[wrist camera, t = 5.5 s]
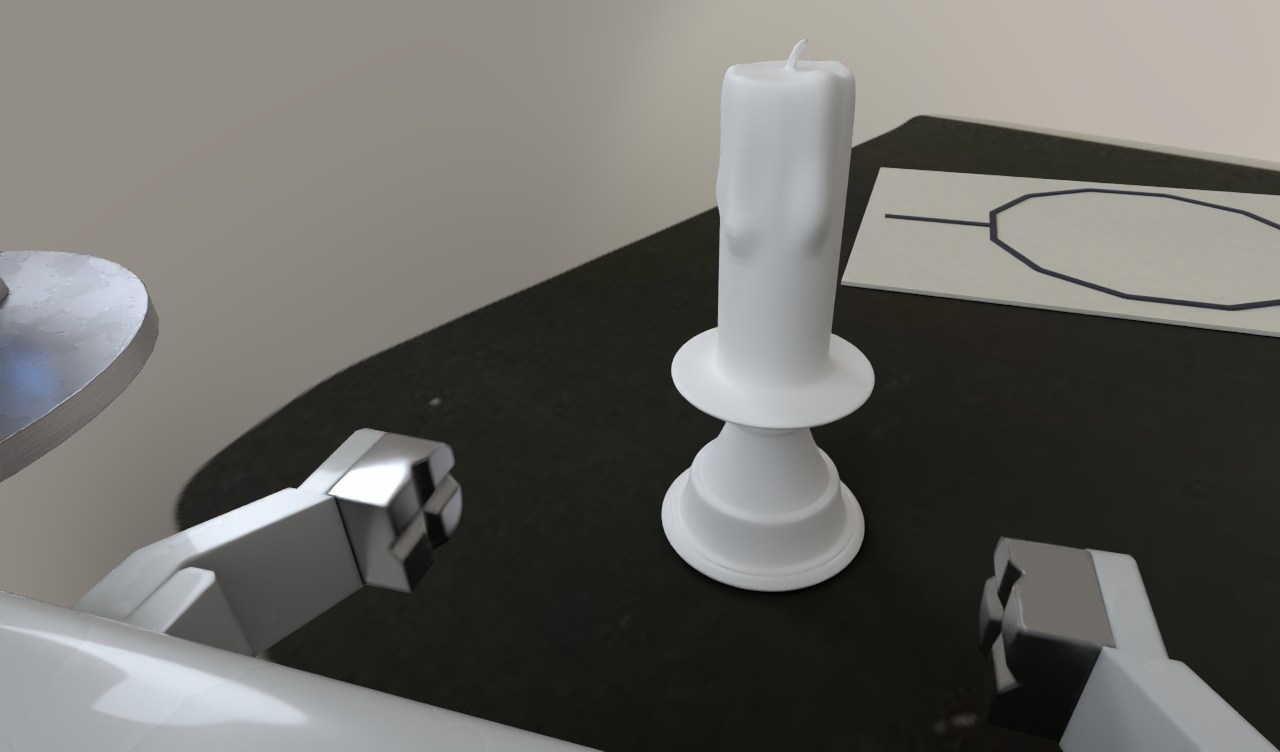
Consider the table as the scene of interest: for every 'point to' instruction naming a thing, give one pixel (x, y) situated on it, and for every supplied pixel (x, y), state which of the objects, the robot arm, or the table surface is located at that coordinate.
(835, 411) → the candle
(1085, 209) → the sketch sheet
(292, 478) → the table surface
